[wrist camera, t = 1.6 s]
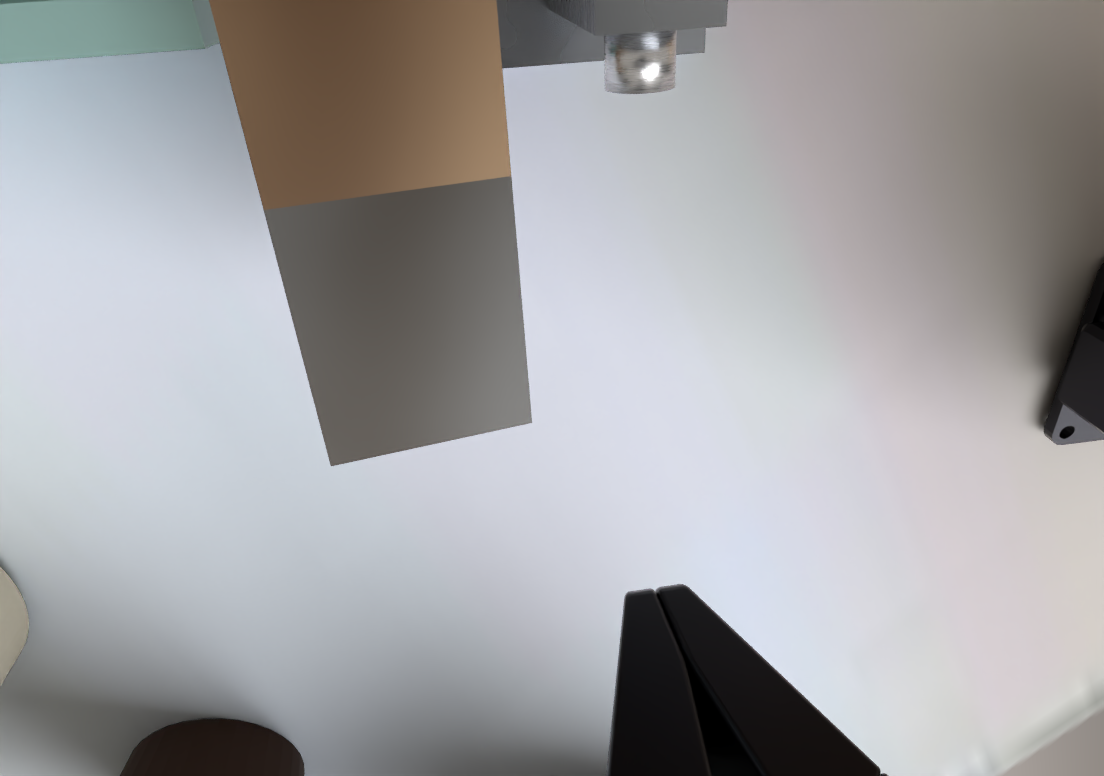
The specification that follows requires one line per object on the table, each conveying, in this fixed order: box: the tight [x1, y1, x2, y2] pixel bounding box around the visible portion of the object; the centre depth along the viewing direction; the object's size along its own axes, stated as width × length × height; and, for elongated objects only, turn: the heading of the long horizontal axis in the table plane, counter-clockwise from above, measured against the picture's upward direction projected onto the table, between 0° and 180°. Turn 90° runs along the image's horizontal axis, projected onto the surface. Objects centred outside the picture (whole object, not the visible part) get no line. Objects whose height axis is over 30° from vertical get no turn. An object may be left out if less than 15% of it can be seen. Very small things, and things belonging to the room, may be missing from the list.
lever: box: [209, 0, 532, 466], centre depth 12 cm, size 16×14×5 cm
